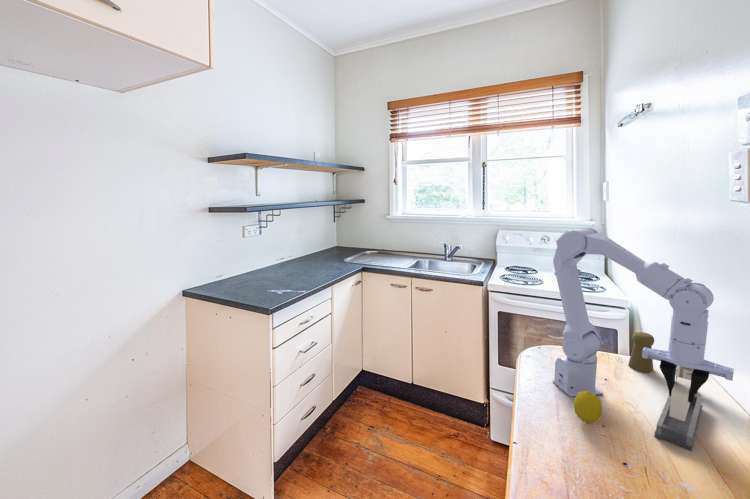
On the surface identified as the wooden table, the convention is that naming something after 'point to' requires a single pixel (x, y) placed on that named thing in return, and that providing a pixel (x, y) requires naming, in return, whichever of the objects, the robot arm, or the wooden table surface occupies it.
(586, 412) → the lemon
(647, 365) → the cork
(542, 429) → the wooden table surface
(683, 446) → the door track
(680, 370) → the sprinkles bottle
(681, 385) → the door panel
